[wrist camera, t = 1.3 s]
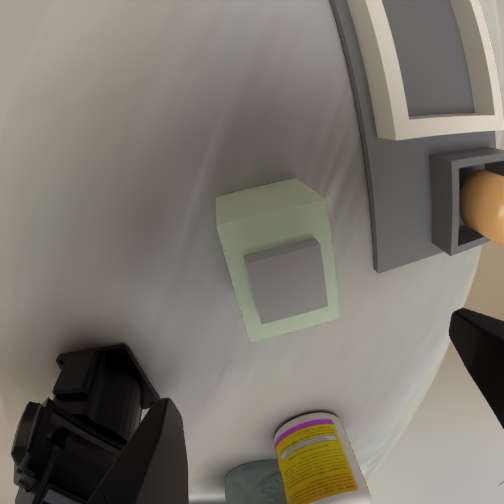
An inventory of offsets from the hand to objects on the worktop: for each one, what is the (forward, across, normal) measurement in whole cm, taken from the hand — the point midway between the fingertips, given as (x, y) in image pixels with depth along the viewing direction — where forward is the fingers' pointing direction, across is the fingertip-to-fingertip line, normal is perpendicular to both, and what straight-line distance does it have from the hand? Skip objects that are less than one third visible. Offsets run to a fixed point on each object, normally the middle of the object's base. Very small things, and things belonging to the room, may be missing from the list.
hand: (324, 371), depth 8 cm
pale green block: (+11, 0, 0) cm, 11 cm away
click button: (+8, -14, 0) cm, 16 cm away
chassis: (+11, -12, -6) cm, 17 cm away
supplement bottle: (+11, 0, +20) cm, 23 cm away
